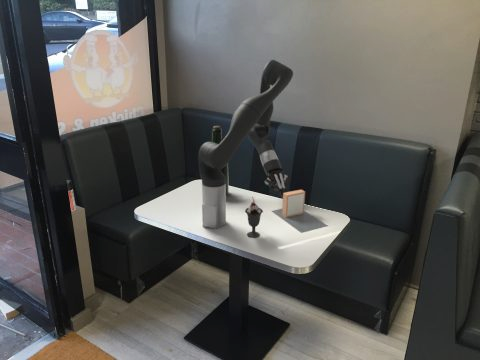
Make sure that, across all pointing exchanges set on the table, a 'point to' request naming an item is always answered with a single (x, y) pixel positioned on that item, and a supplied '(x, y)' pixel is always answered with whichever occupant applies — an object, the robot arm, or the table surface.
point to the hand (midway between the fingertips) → (284, 197)
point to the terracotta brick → (293, 203)
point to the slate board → (301, 221)
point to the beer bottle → (218, 139)
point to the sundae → (253, 218)
